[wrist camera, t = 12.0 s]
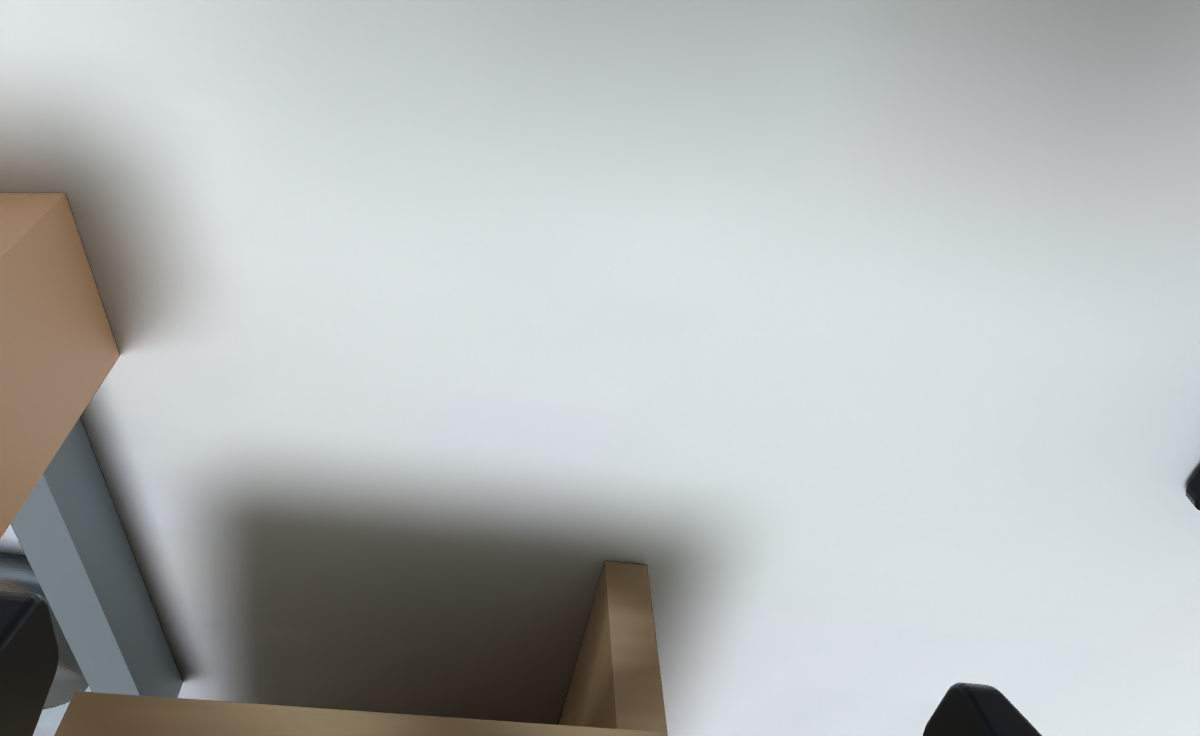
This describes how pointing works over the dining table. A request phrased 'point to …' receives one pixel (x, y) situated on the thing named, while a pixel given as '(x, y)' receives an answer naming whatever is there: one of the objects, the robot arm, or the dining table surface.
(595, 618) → the shelf
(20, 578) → the disc
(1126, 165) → the dining table surface
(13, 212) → the toy hammer
